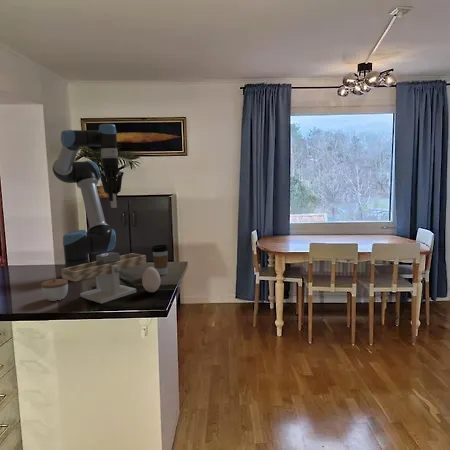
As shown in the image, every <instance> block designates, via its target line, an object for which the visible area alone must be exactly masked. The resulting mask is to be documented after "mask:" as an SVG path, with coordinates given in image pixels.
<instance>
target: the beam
mask: <svg viewBox="0 0 450 450" xmlns="http://www.w3.org/2000/svg"><path fill="white" fill-rule="evenodd" d="M89 262H90V261H89ZM145 264H147V256H146V254H140V253H134V252H131V253H128V254H127V253H126V254H123V255H120V261H117V262H111V263H108V264H104V265H100V266H97V263H96V261H95V260H94V261H91V262H90V263H86V264H81V265H77V266H72V267H68V268H64V267H63V268H61V269H60V271H61V272H60V273H61V279H66V280H68V281H71V282H79V281H83V280H86V279H92V278H94V277H95V278H96V276H99V275H103V274H107V273H111V272H112V269H111V266H113V265H118V268H119V270H120V271H122V270H126V269H130V268H133V267H137V266H141V265H145Z"/></svg>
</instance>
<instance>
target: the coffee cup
mask: <svg viewBox="0 0 450 450" xmlns="http://www.w3.org/2000/svg"><path fill="white" fill-rule="evenodd" d="M168 251H169V247H168V244H155V245H152V247H151V252H152V258H153V265H154V268H155V269H156V270H157V271H158V273H159V275H160V276H166V275H167V274H168V264H169V263H168V262H169V261H168V259H169V255H168V253H169V252H168ZM165 274H166V275H165Z"/></svg>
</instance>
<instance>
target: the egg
mask: <svg viewBox="0 0 450 450" xmlns="http://www.w3.org/2000/svg"><path fill="white" fill-rule="evenodd" d="M141 281H142V282H141V284H142V286H143V288H144V289H145V291H147V292H148V293H155V292H156V291H157V290H158V289H159V288H160V286H161V275H159V273H158V271H157V270H156V269H155V267H153V266H150V267H147V268H146V269H145V270H144V272H143V274H142V277H141Z"/></svg>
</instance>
